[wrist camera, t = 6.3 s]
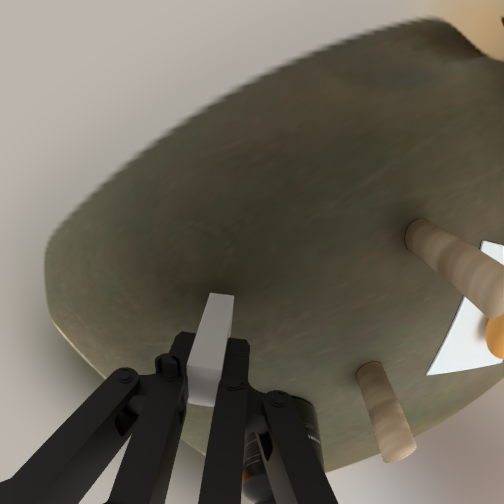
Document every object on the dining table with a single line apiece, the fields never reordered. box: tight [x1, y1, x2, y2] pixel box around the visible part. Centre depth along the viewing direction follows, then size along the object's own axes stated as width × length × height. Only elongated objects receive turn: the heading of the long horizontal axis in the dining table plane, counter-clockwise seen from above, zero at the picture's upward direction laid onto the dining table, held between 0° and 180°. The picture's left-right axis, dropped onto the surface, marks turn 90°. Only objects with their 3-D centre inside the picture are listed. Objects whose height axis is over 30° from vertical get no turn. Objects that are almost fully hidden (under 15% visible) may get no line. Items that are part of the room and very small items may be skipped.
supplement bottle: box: [242, 397, 325, 504], centre depth 18 cm, size 7×7×12 cm
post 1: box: [356, 362, 417, 463], centre depth 17 cm, size 2×2×9 cm
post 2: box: [405, 219, 504, 319], centre depth 13 cm, size 2×2×9 cm
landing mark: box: [426, 240, 504, 375], centre depth 19 cm, size 14×14×1 cm
